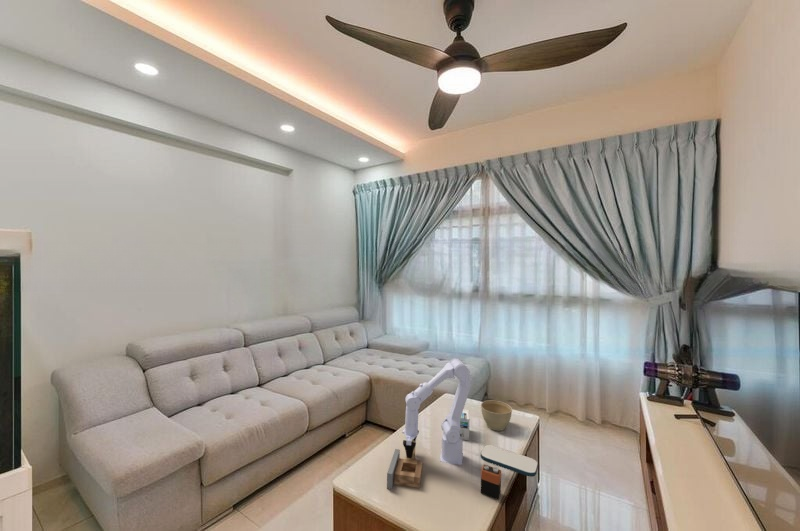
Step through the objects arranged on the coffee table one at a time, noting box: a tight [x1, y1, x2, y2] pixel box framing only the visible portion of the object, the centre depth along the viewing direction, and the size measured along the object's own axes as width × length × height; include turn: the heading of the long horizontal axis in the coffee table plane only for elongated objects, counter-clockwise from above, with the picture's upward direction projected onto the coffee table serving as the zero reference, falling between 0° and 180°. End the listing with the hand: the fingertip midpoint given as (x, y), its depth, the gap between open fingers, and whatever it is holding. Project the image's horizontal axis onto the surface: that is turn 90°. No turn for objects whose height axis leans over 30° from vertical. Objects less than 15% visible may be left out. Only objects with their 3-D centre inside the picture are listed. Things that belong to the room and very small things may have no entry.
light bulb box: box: [460, 408, 471, 441], centre depth 161 cm, size 11×7×11 cm, turn 168°
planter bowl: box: [480, 400, 513, 432], centre depth 169 cm, size 16×16×11 cm
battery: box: [480, 464, 502, 500], centre depth 120 cm, size 4×7×10 cm, turn 61°
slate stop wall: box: [386, 448, 401, 490], centre depth 128 cm, size 2×16×6 cm, turn 170°
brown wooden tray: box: [393, 457, 424, 489], centre depth 126 cm, size 10×10×4 cm
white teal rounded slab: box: [480, 444, 539, 478], centre depth 140 cm, size 24×12×2 cm, turn 59°
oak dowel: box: [405, 440, 417, 461], centre depth 138 cm, size 4×4×8 cm
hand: (410, 452), depth 138 cm, fingers open, 7 cm apart
